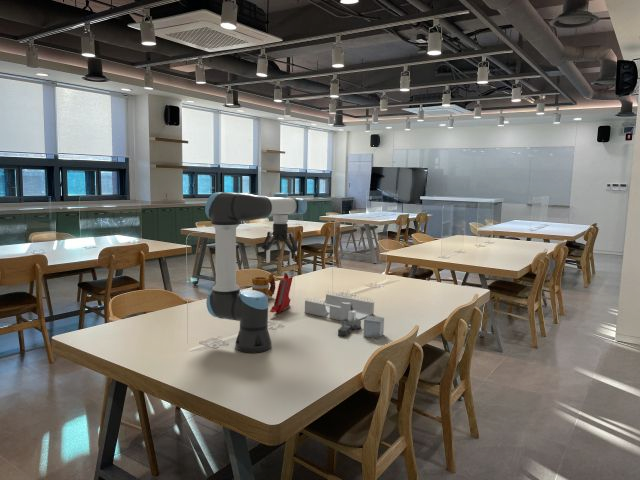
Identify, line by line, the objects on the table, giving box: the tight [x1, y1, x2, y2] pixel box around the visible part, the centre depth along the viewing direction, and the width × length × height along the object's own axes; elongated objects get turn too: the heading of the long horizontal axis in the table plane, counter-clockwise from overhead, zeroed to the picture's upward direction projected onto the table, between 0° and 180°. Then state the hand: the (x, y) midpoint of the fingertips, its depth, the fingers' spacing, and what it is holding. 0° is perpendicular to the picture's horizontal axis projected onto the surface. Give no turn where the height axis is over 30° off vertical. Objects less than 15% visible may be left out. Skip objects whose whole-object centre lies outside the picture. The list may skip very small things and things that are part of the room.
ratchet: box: [337, 310, 362, 338], centre depth 226 cm, size 20×9×8 cm, turn 159°
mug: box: [251, 272, 276, 301], centre depth 281 cm, size 11×16×15 cm, turn 132°
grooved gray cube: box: [362, 315, 385, 339], centre depth 219 cm, size 8×8×8 cm
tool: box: [269, 272, 294, 313], centre depth 258 cm, size 24×5×25 cm, turn 170°
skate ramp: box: [304, 291, 375, 325], centre depth 253 cm, size 30×27×11 cm
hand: (279, 263), depth 247 cm, fingers open, 13 cm apart
